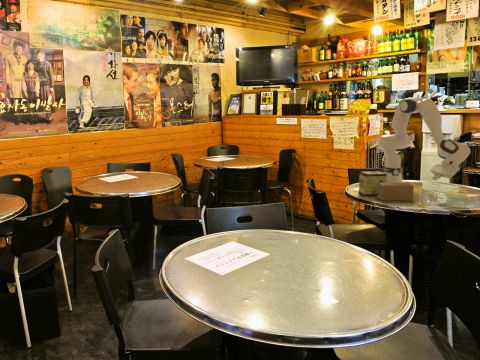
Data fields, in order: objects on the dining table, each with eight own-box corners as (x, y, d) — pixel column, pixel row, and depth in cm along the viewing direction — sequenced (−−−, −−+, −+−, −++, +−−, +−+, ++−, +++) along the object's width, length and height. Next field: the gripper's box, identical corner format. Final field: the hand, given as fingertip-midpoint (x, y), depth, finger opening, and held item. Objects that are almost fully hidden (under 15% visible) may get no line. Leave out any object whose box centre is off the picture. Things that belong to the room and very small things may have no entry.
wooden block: (409, 183, 282) (378, 182, 284) (414, 185, 272) (382, 185, 274) (408, 197, 284) (377, 197, 286) (412, 201, 274) (381, 200, 276)
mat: (374, 198, 282) (374, 198, 282) (405, 198, 284) (405, 197, 284) (382, 203, 270) (382, 202, 269) (415, 202, 272) (415, 202, 271)
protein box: (358, 193, 299) (359, 171, 296) (379, 192, 301) (380, 171, 298) (363, 196, 289) (364, 173, 286) (385, 196, 290) (387, 173, 288)
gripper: (437, 159, 285) (422, 173, 286) (455, 163, 265) (439, 178, 266) (443, 165, 287) (428, 180, 287) (461, 170, 267) (445, 185, 267)
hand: (433, 179), depth 277 cm, fingers closed
